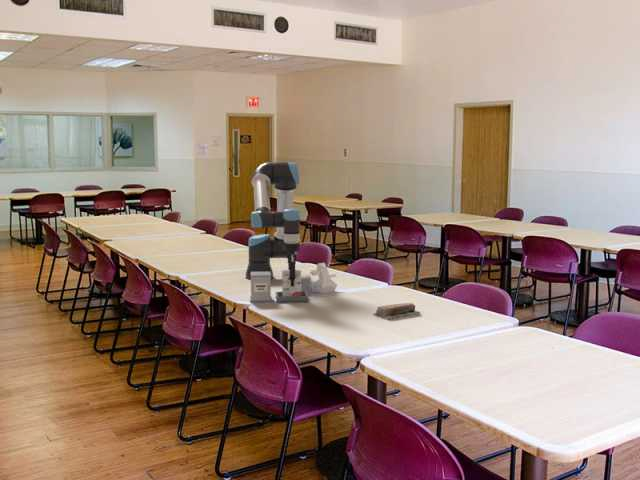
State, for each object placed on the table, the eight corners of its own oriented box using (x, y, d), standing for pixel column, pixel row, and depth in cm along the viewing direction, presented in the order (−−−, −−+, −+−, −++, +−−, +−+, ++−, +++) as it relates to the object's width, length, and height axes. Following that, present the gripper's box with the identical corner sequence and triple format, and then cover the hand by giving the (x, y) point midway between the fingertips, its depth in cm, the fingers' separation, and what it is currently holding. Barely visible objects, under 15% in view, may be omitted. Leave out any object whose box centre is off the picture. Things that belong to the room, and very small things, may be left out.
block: (299, 291, 327) (299, 275, 326) (309, 291, 327) (309, 275, 326) (300, 293, 322) (300, 277, 321) (310, 293, 322) (310, 277, 321)
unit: (250, 297, 312) (249, 271, 310) (271, 297, 313) (271, 271, 311) (250, 302, 302) (249, 275, 301) (271, 302, 303) (271, 275, 302)
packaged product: (387, 309, 272) (373, 305, 280) (387, 321, 272) (372, 316, 281) (421, 304, 281) (406, 299, 290) (420, 315, 282) (405, 310, 290)
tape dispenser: (341, 290, 328) (341, 263, 326) (318, 294, 320) (318, 266, 318) (331, 288, 335) (331, 261, 333) (308, 291, 327) (308, 264, 325)
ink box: (301, 294, 311) (301, 269, 309) (300, 296, 306) (300, 271, 304) (283, 293, 312) (283, 269, 310) (281, 296, 307) (281, 271, 305)
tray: (275, 296, 314) (275, 291, 314) (306, 296, 316) (306, 291, 315) (276, 302, 303) (276, 297, 302) (308, 301, 304) (308, 296, 304)
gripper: (282, 239, 314) (282, 287, 317) (284, 245, 296) (284, 296, 299) (298, 239, 315) (298, 287, 318) (301, 245, 297) (301, 295, 300)
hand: (291, 291), depth 309 cm, fingers closed on ink box, 5 cm apart
